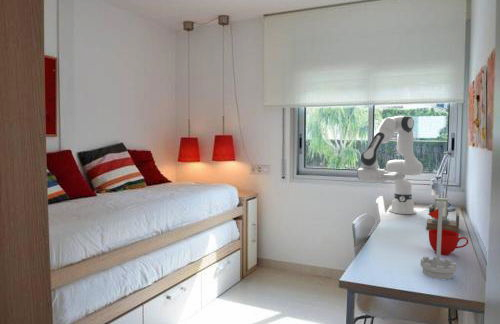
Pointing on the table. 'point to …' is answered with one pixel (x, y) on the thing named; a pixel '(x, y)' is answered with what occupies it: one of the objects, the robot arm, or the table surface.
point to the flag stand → (438, 254)
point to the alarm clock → (434, 209)
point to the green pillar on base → (444, 210)
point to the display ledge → (445, 225)
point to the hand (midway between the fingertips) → (404, 176)
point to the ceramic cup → (445, 241)
